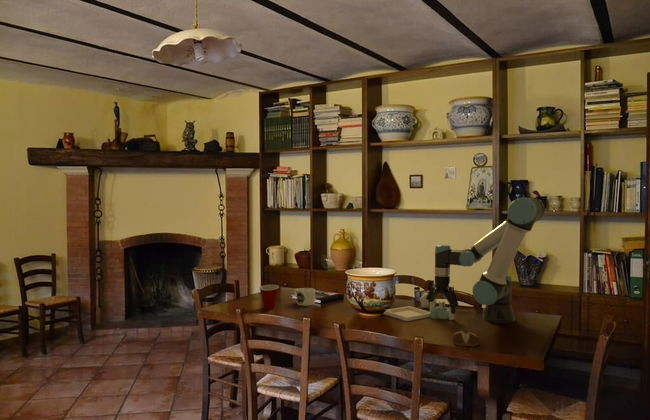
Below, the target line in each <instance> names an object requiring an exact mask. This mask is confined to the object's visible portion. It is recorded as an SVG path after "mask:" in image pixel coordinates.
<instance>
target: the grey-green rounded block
mask: <svg viewBox="0 0 650 420" xmlns="http://www.w3.org/2000/svg"><path fill="white" fill-rule="evenodd" d="M430 318H431V319H434V320H437V319H439V320H440V319H441V320H443V319H444V320H447V319H448V320H449V307H446V306H445V310H439V306H435V308H433V310H431V317H430Z"/></svg>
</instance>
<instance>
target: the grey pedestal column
mask: <svg viewBox="0 0 650 420" xmlns="http://www.w3.org/2000/svg"><path fill="white" fill-rule="evenodd" d="M438 307H439V310H445V307H446V302H445V301H442V300H441V301H438Z"/></svg>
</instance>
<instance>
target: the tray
mask: <svg viewBox="0 0 650 420" xmlns="http://www.w3.org/2000/svg"><path fill="white" fill-rule="evenodd" d="M385 310H386V311H385V312H384V313H383V315H385V316H388V317H392V318H395V319H396V318H397V319H398V320H401V321H404V322H406V321H407V322H408V321H409V322H411V321H415V320H419V319H421V320H422V319H425V318H431V312H430V311H428V310H425V309H421V308H418V307H413V306H410V305H408V306H402V307H396V308H395V307H394V308H389V309H385Z"/></svg>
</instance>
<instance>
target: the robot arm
mask: <svg viewBox="0 0 650 420" xmlns="http://www.w3.org/2000/svg"><path fill="white" fill-rule="evenodd" d="M545 211H546V209H545V205H544V203H543V202H542V201H541V199H538V198H537V197H532V196H531V197H518V198H515V200H513V201H511V203H510V204H509V205H508V208H507V217H506V220H504V221H503V222H502V223H501V224H500V225H498V226H497V227H496V228H494V229H493V230H492V231H490V232H489V233H487V234H486V235H484V236H483V237H482V238H481V239H479V240H478V241H477V242H475V244H472V245H471V246H470V247H469V248H466V249H465V248H464V249H462V250H458V249H451V245H449V244H437V245H436V246H435V247H434V248H435V249H434V250H435V251H434V282H431V283H430V288H429V291H428V292H427V293H428V295H427V297H426V299H427V300H429V308H428V309H429V312H431V310H433V308H435V307H436V304H435V302H434V299H436V298H437V296H438V295H439V294H441V295H443V296H444V297H445V299H446V300H447V302H448V304H449V307H448V308H449V318H448V320H449V321H453V320H455V314H456V307H459V302H458V299H457V295H456V292H455V288H454V286H449V285H450V283H451V277H450V275H451V265H452V266H459V267H472V266H473V265H474V264H476V263H478V262H479V261H481V260H482V259H483V257H485V256H486V255H487V254H489V253H490V252H492V251H493V250H494V249H496V250H495V252H494V255H493V256H492V258H491V262H490V264H489V266H488V268H487V270H485V271H483V272H482V274H481V276H480V278H479V280H478V281H477V282H475V284H474V285H473V286H472V295H473V298H474V300H475V301H476V302H477V303H478V304H480V305H483V306H485V307H484V310H483V313H482V320H483V321H486V322H489V323H493V324H501V325H503V324H506V325H507V324H513V323H515V321H516V320H515V319H516V318H515V314H514V310H513V307H512V285H513V281H512V280H513V279H512V277H511V275H508V273H509V270H510V268H511V266H512V264H513V261H514V259H515V257H516V255H517V253H518V252H519V248H520V246H521V244H522V242H523V240H524V238H525V236H526V234H527V233H530V232H531V231H532V229H533V226H534V224H535V223H537V222H538V221H540V220H541V219H542V218H543V217H544V215H545Z"/></svg>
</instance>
